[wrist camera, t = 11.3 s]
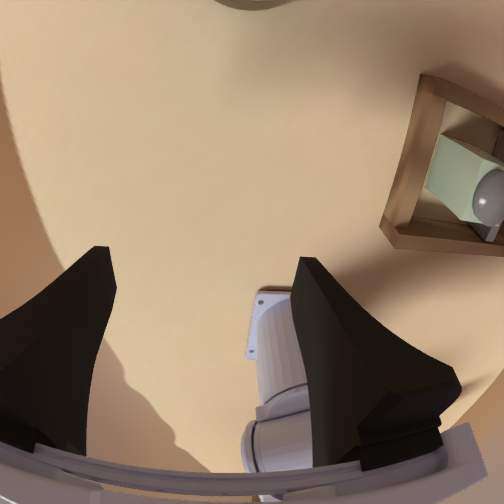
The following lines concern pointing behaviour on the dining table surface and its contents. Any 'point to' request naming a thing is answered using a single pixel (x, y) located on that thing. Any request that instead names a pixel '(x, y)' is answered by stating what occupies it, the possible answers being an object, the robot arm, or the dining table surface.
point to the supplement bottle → (252, 4)
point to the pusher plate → (502, 153)
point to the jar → (467, 181)
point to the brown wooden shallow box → (415, 168)
